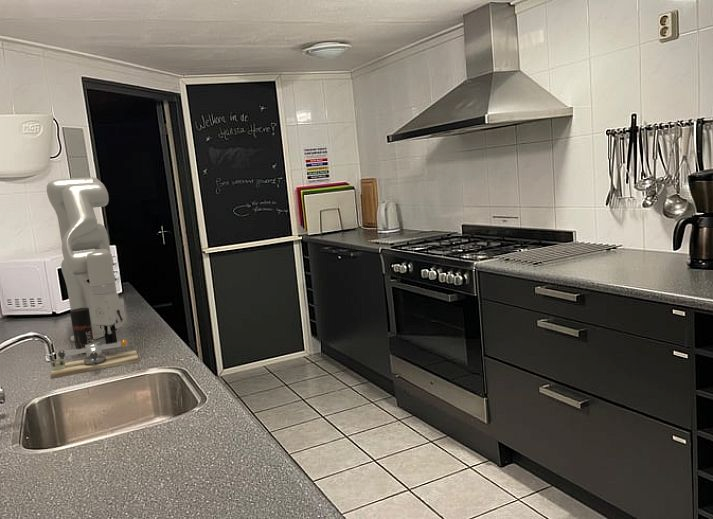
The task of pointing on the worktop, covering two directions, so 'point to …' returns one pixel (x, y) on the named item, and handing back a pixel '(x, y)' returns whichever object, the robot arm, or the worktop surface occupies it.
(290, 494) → the worktop surface
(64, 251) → the robot arm
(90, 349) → the capstan
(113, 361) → the board
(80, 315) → the deodorant
